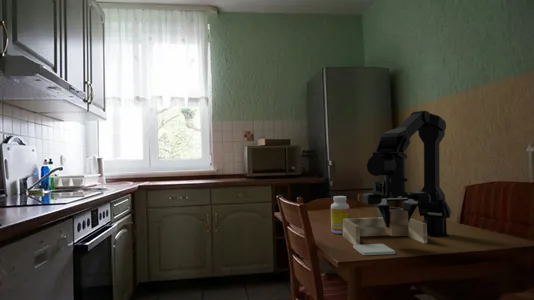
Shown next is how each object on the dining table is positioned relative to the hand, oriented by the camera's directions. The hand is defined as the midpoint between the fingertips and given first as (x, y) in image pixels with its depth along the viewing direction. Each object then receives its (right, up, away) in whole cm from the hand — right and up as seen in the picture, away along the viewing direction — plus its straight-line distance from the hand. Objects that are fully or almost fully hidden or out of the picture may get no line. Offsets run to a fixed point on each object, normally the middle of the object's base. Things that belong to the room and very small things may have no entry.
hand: (396, 227), depth 109 cm
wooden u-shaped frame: (-1, -6, +10) cm, 12 cm away
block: (0, -2, 0) cm, 2 cm away
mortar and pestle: (+9, -7, +33) cm, 34 cm away
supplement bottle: (-12, -7, +24) cm, 28 cm away
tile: (-8, -6, -3) cm, 10 cm away
